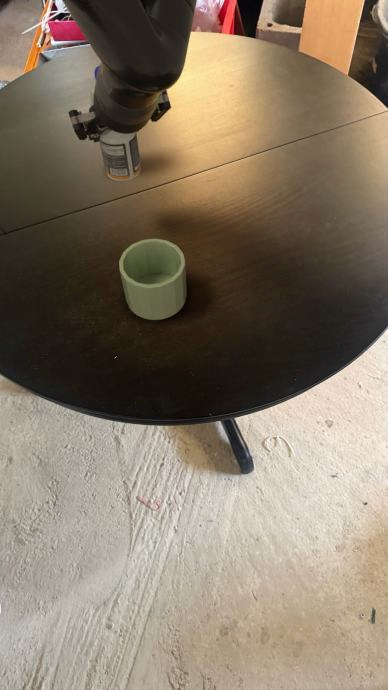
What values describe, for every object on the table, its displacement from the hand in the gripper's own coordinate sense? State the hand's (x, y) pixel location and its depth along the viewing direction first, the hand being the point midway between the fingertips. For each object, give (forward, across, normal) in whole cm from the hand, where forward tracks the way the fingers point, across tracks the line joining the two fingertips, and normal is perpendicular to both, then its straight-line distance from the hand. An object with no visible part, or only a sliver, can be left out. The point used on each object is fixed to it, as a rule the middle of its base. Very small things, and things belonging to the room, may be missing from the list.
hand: (114, 130), depth 72 cm
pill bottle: (+3, 0, +6) cm, 7 cm away
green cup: (0, +2, +26) cm, 26 cm away
